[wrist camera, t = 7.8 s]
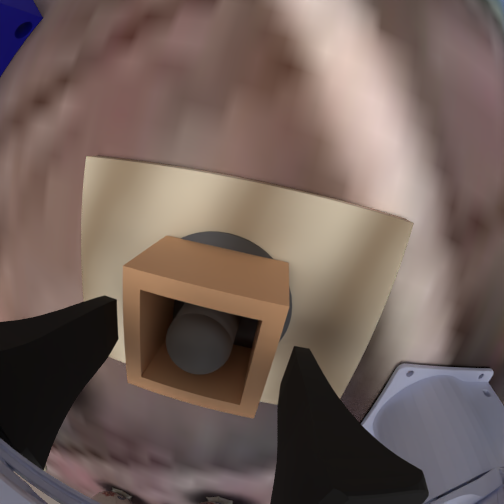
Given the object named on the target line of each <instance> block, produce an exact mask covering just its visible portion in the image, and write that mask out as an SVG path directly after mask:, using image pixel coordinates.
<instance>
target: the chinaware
mask: <svg viewBox="0 0 504 504" xmlns="http://www.w3.org/2000/svg"><path fill="white" fill-rule="evenodd" d="M112 488H113V487H112ZM131 497H132V496H129V495H128V494H126V493H125V492H123V491H122V490H118V489H115V488H113V490H112V491H103V492H99V493H97V494H96V495H95V496H94V497H93V498H91V499H93V500H95V501H97V502H99V503H101V504H132V502H131V501H130V500H129V499H130V498H131ZM205 498H207V499H208V501H209V502H203V503H199V504H233V503H232V500H227V499H224V498H220V497H219V496H217V497H205Z"/></svg>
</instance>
